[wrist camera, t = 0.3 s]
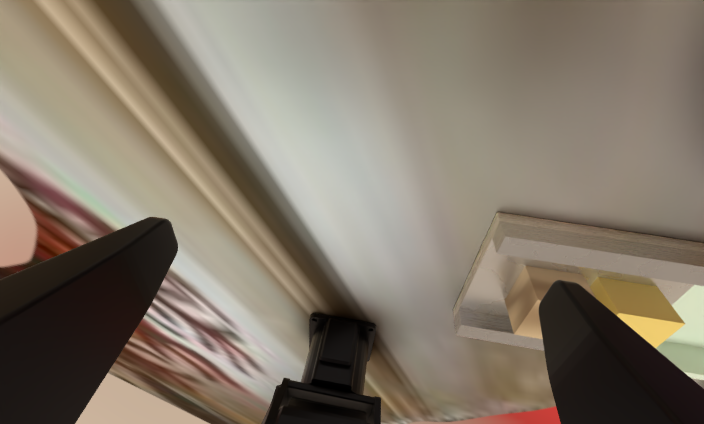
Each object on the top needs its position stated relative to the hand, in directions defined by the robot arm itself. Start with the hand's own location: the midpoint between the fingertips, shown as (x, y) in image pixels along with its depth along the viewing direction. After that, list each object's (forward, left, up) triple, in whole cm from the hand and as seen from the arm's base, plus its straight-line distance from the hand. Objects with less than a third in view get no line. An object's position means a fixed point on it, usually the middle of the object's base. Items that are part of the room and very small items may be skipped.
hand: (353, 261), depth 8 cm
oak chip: (-13, -14, -13) cm, 22 cm away
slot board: (-13, -16, -14) cm, 24 cm away
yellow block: (-13, -19, -13) cm, 26 cm away
